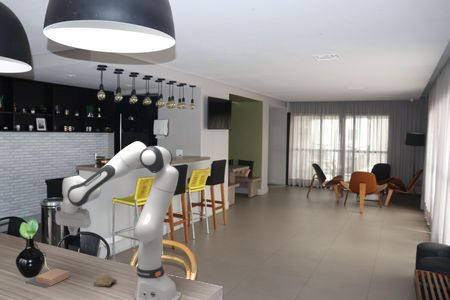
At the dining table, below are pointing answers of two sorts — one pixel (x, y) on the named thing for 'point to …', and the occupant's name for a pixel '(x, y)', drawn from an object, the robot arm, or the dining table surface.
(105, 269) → the dining table surface
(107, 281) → the pottery shard
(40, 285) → the mat
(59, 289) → the dining table surface
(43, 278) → the tile
